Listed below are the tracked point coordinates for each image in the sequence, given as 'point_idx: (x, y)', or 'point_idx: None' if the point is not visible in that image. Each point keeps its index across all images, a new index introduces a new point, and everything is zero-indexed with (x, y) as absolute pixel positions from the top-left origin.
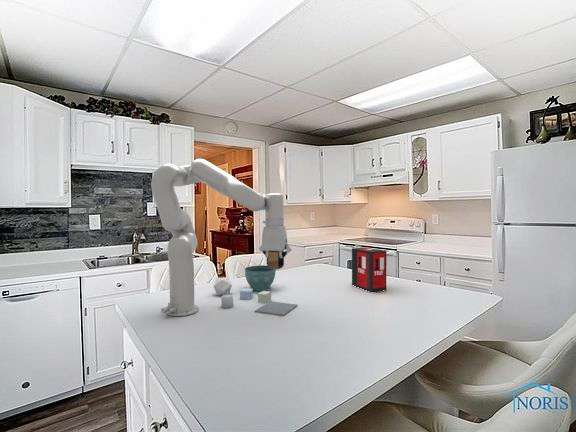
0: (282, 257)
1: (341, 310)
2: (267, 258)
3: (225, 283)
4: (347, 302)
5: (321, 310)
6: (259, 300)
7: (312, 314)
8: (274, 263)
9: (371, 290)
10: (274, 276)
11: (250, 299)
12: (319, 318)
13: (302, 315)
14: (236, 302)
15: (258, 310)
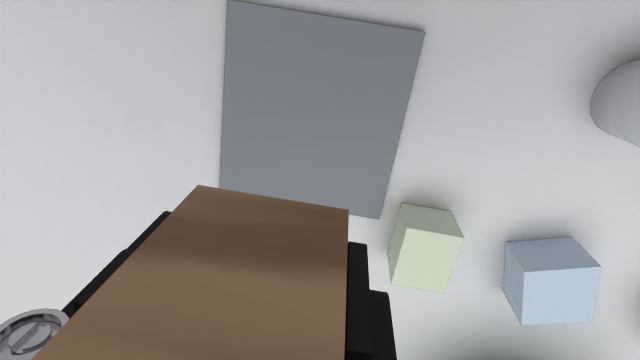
0: (18, 327)
1: (5, 165)
2: (368, 340)
3: None
4: (32, 276)
5: (86, 145)
6: (444, 214)
7: (100, 72)
8: (224, 236)
9: None
10: None
11: (506, 242)
12: (41, 16)
13: (140, 42)
14: (583, 183)
15: (401, 39)
